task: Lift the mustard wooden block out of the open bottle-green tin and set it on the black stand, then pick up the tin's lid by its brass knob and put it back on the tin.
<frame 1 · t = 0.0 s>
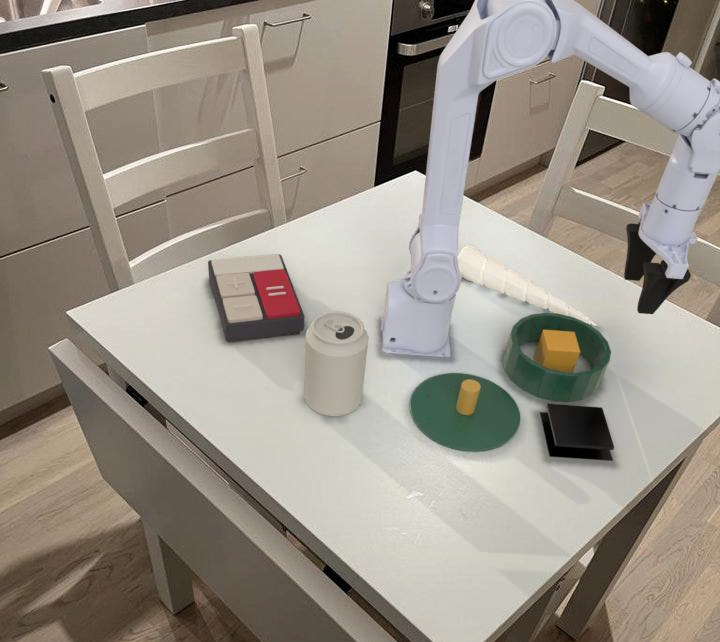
hand: (638, 295, 98), 10 cm above the table, tool pointing down, fingers open, 7 cm apart
calculator: (255, 308, 107), on the table
stand: (574, 438, 93), on the table
tin lid: (464, 411, 94), point 1 cm above the table
tin: (550, 372, 102), on the table
unicorn horn: (519, 297, 114), on the table
can: (332, 402, 95), on the table
block: (551, 369, 102), resting on tin
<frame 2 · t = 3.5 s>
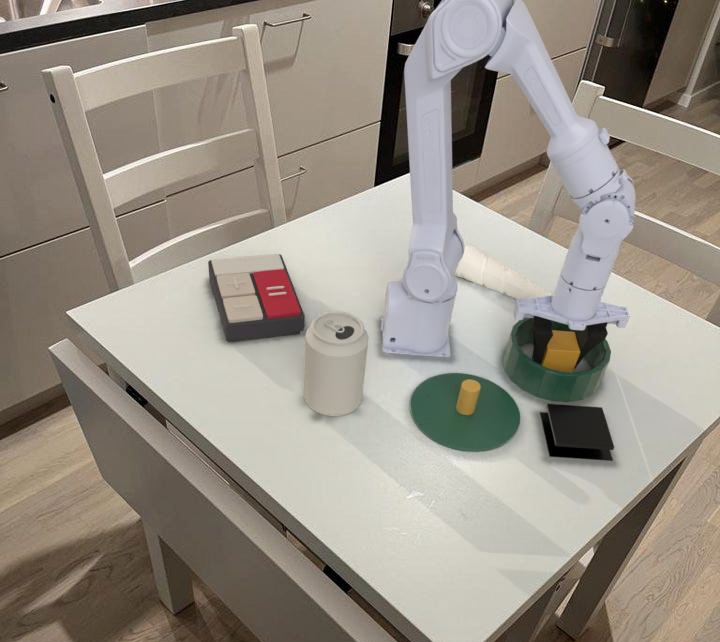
hand: (553, 363, 101), 2 cm above the table, tool pointing down, fingers closed on block, 4 cm apart
block: (551, 369, 102), point 1 cm above the table, touching gripper, tin
everything else where it was.
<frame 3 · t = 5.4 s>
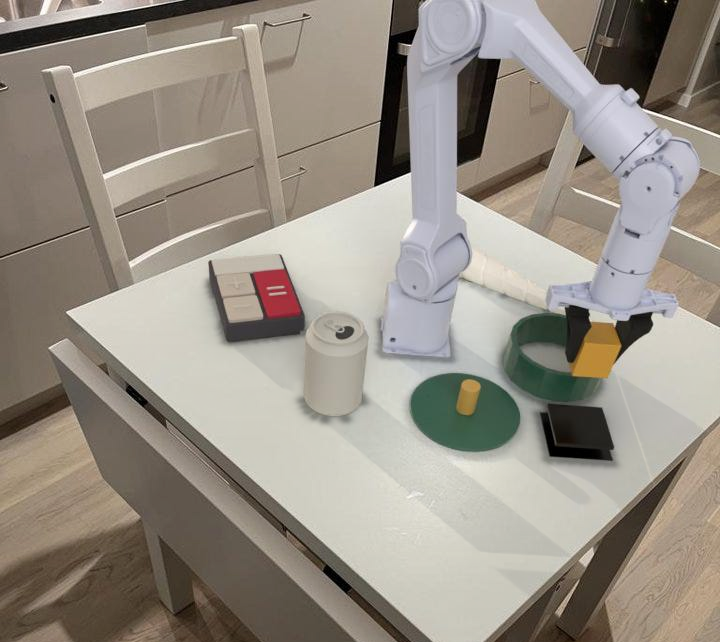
hand: (588, 358, 89), 9 cm above the table, tool pointing down, fingers closed on block, 4 cm apart
block: (586, 365, 90), point 8 cm above the table, touching gripper
everything else where it was.
when the fingers open (4 cm above the table, at t = 7.6 s): block stays where it is, resting on stand.
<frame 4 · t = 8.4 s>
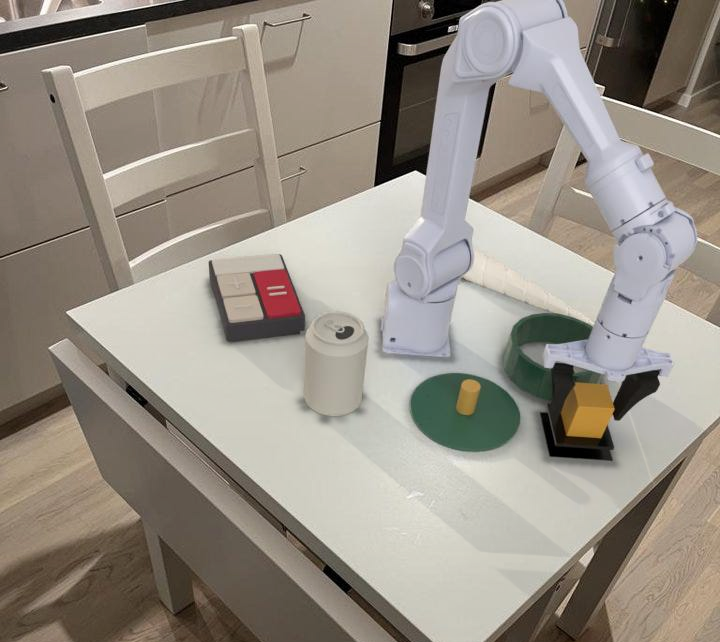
hand: (584, 412, 90), 5 cm above the table, tool pointing down, fingers open, 7 cm apart
block: (580, 424, 92), point 2 cm above the table, touching stand
everything else where it was.
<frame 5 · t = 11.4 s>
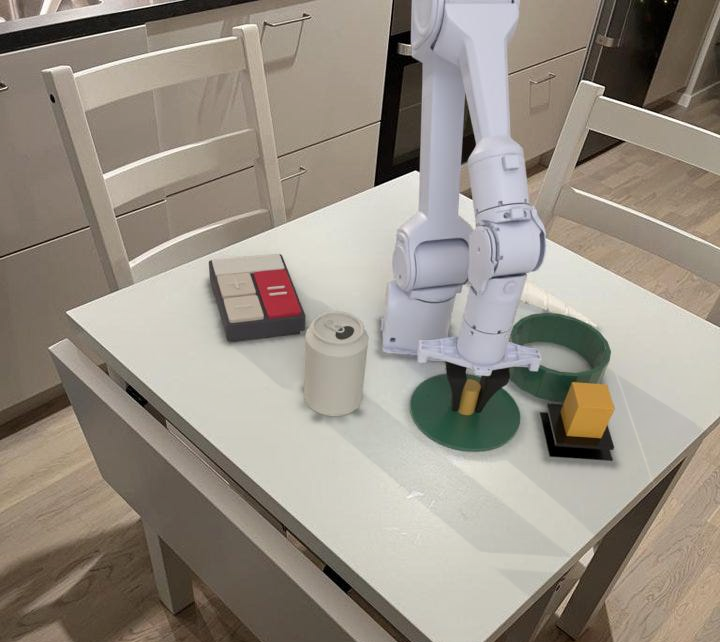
hand: (465, 406, 94), 2 cm above the table, tool pointing down, fingers closed on tin lid, 2 cm apart
tin lid: (464, 411, 94), point 1 cm above the table, touching gripper
everything else where it was.
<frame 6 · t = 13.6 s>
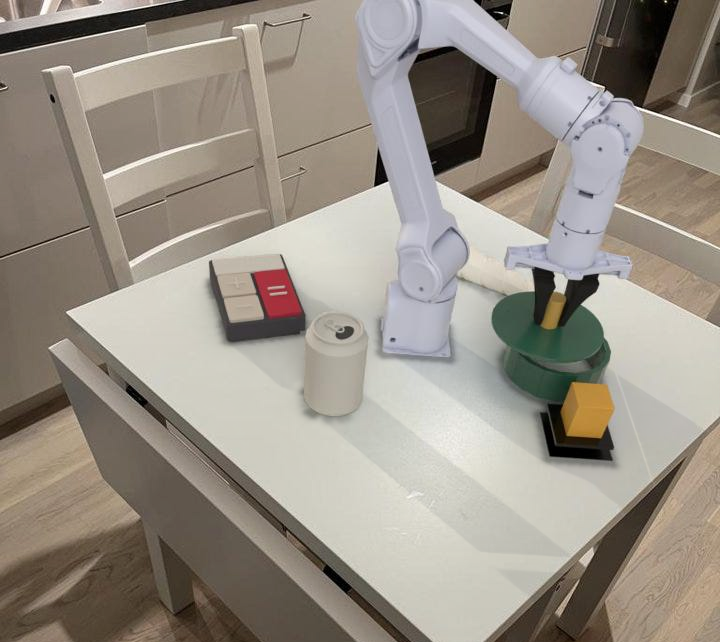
hand: (548, 320, 92), 10 cm above the table, tool pointing down, fingers closed on tin lid, 2 cm apart
tin lid: (546, 327, 93), point 10 cm above the table, touching gripper
everything else where it was.
when the fingers open (6 cm above the table, at t = 15.6 s): tin lid stays where it is, resting on tin.
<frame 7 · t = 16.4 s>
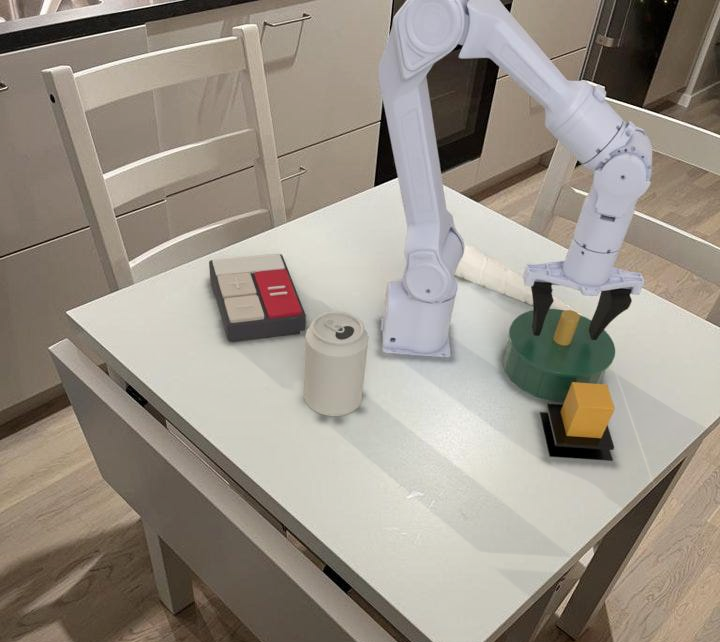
hand: (564, 333, 97), 7 cm above the table, tool pointing down, fingers open, 7 cm apart
tin lid: (561, 343, 98), point 5 cm above the table, touching tin
everything else where it was.
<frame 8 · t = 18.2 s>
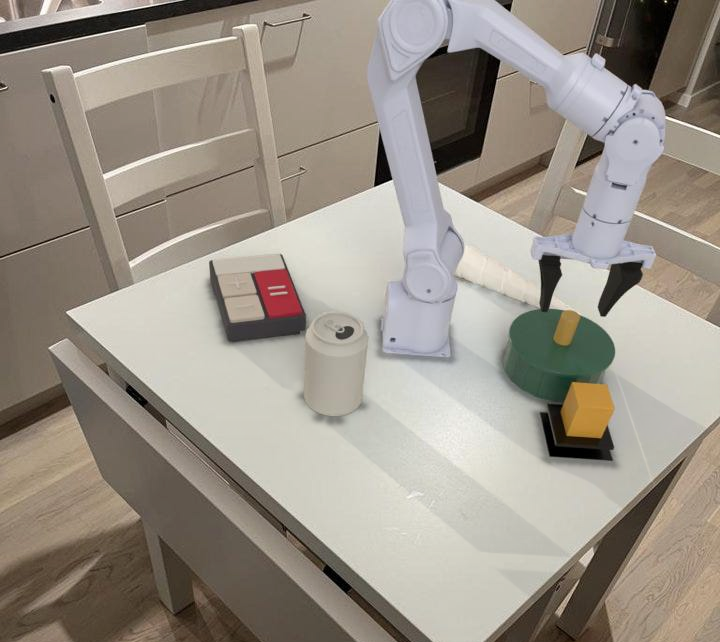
hand: (572, 309, 94), 10 cm above the table, tool pointing down, fingers open, 7 cm apart
nothing on the table moved.
at the end: block 0.0 cm off-centre on the stand, point 2.5 cm above the stand's base; tin lid 0.1 cm off-centre on the tin, point 5.1 cm above the tin's base; tin lid tilted 0° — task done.
